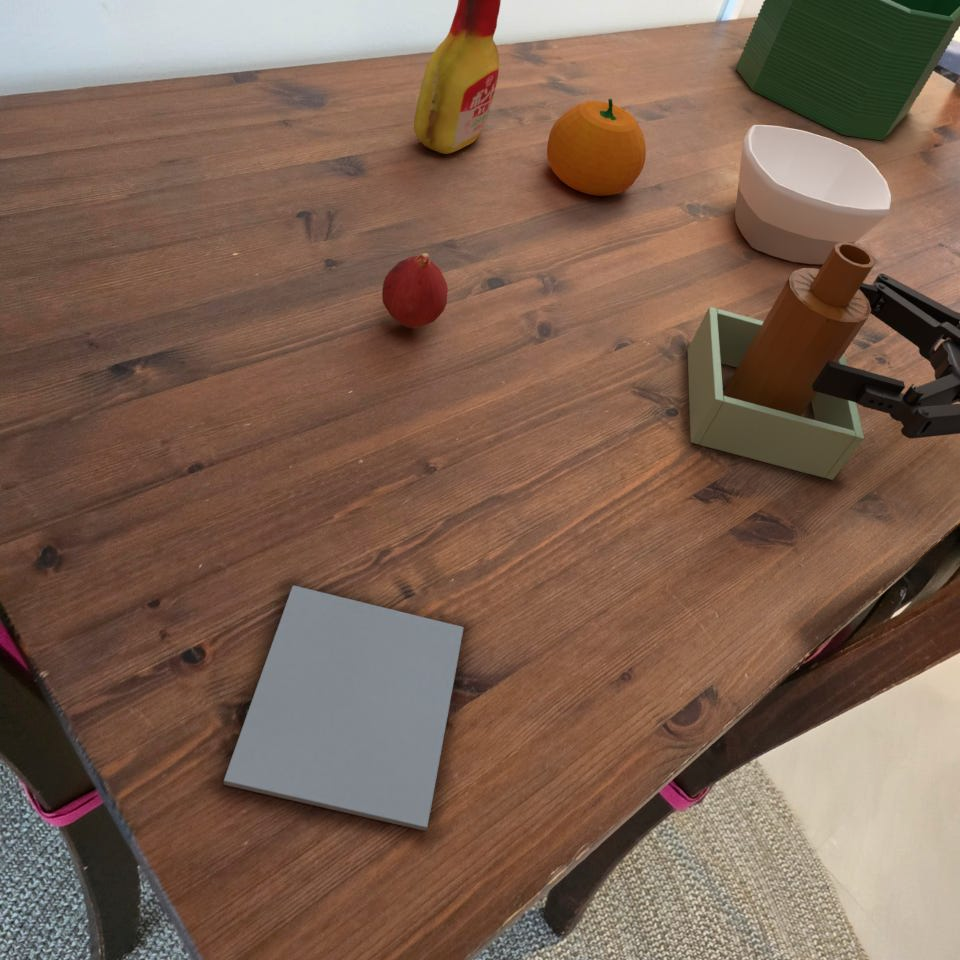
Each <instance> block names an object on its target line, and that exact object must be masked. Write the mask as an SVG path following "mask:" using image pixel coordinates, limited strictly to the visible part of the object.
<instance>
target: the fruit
mask: <svg viewBox="0 0 960 960" xmlns="http://www.w3.org/2000/svg"><path fill="white" fill-rule="evenodd" d="M607 101H608V102H606V101H600V100H587V101H585V102H581V103H579V104H576V105H574V106H572V107H571V108H569V109H567V110H566V111H565V112H564V113H563V114H562V115H560V116H559V118H557V120H556V121H555V122H554V124H553V125H552V127H551V129H550V132H549V135H548V140H547V146H546V157H547V161H548V164H549V166H550V169H551V170H552V172H553V174H554V175H555V176H556V177H557V178H558V179H559V180H560V181H561V182H562V183H563V184H565V185H567V186H568V187H570V189H573V190H576V191H577V192H580V193H583V194H587V195H591V196H600V197H604V196H614V195H617V194H620V193H622V192H624V191H627V190H628V189H629V188H630V187H631V186H633V184H634V183H635V182H636V180H637V179H638V178H639V176H640V175H641V174H642V171H643V169H644V166H645V163H646V156H647V145H646V139H645V135H644V133H643V131H642V129H641V126H640V125H639V123H638V121H637V120H636V118H635V116H633V115H632V114H631V113H630V112H629V111H628V110H625V109H624V108H622V107H620V106H618V105H616V104H614V103H613V99H612V98H608V100H607Z"/></svg>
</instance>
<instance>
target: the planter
mask: <svg viewBox="0 0 960 960" xmlns="http://www.w3.org/2000/svg"><path fill="white" fill-rule="evenodd" d="M959 29H960V0H764V1H763V2H762V5H761V8H760V9H759V12H758V14H757V17H756V20H755V21H754V24H753V25H752V28H751V31H750V32H749V35H748V36H747V39H746V43H744V47H743V48H742V49H743V50H742V52H741V54H740V56H739V59H738V61H737V63H736V66H735V70H736V71H737V72H738V74H739V76H740V77H741V78H742V79H743V81H744V82H745V83H746V85H747V86H748V88H750V90H751V91H752V92H754V93H756V94H757V95H760V96H762V97H764V98H765V99H768V100H770V101H772V102H773V103H776V104H778V105H780V106H782V107H784V108H786V109H788V110H790V111H791V112H794V113H795V114H799V115H800V116H803V117H804V118H807V119H808V120H810V121H813V122H814V123H816V124H818V125H821V126H822V127H825V128H827V129H829V130H831V131H832V132H835V133H838V134H839V135H841V136H846V137H852V138H861V139H868V140H876V141H883V140H885V138H887V136H888V135H889V134H890V133H891V132H892V131H893V130H894V128H896V126H897V125H898V124H899V123H900V122H901V121H902V120H903V119H904V118H905V116H907V115H908V113H909V112H910V111H911V109H912V107H913V106H914V104H915V102H916V101H917V98H918V97H919V96H920V95H921V93H922V91H923V89H924V88H925V86H926V85H927V82H929V79H930V78H931V75H932V74H933V72H934V71H935V67H936V66H937V65H938V64H939V63H940V61H941V59H942V57H943V56H944V54H945V53H946V50H947V49H948V47H949V46H950V44H951V42H952V41H953V39H954V38H955V34H956V32H957V31H959Z"/></svg>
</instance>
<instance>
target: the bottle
mask: <svg viewBox="0 0 960 960" xmlns="http://www.w3.org/2000/svg"><path fill="white" fill-rule="evenodd" d="M501 1H502V0H457V6H456V10H455V13H454V15H453V16H454V17H453V19H452V23H451V25H450V28H449V32H448V33H447V35H446V37H445V38H444V39H443V41H442V42H441V43H440V44H439V45H438V46H437V47H436V49H435V50H434V51H433V53H432V54H431V56H430V58H429V61H428V62H427V66H426V67H425V71H424V75H423V78H422V82H421V85H420V89H419V95H418V98H417V103H416V107H415V114H414V120H413V123H414V125H413V130H414V133H415V135H416V137H417V138H418V140H419V141H420V142H421V144H422V145H423V146H424V147H425V148H427V149H429V150H432V151H434V152H437V153H438V154H439V153H440V154H445V155H447V154H448V155H449V154H452V153H455V152H457V151H459V150H461V149H463V148H465V147H467V146H469V145H471V144H473V143H474V142H475V141H476V140H477V139H478V138H479V136H480V135H481V133H482V131H483V129H484V127H485V124H486V122H487V119H488V115H489V111H490V109H491V106H492V102H493V99H494V96H495V92H496V88H497V84H498V79H499V73H500V57H499V52H498V47H497V45H496V43H495V41H494V35H495V33H496V30H497V27H498V19H499V14H500V8H501Z"/></svg>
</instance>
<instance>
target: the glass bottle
mask: <svg viewBox="0 0 960 960" xmlns="http://www.w3.org/2000/svg"><path fill="white" fill-rule="evenodd" d="M875 265H876V260H875V257H874V256H873V254H871V253H870V251H869V250H867V249H866V248H864V247H862V246H860V245H859V244H855V243H854V244H852V243H849V242H838V243H837V244H836V245H835V246H834V248H833V249H832V251H831V252H830V254H829V256H828V257H827V259H826V261H825V262H824V264H822V266H821V267H820V268H817V267H816V268H815V267H802V268H799V269H796V270H793V271H792V272H791V273H790V276H789V277H788V278H787V281H786V282H785V284H784V285H783V287H782V289H781V291H780V292H779V295H778V296H777V298H776V300H775V301H774V303H773V305H772V307H771V308H770V310H769V312H768V313H767V315H766V317H765V319H764V320H763V321H764V322H763V324H762V326H761V327H760V329H759V331H758V333H757V334H756V336H755V338H754V339H753V341H752V343H751V345H750V346H749V348H748V350H747V352H746V353H745V355H744V357H743V359H742V360H741V362H740V364H739V366H738V367H737V368H736V369H735V370H734V372H733V375H731V378H730V380H729V381H728V383H727V384H726V386H725V387H724V389H723V397H724V396H727V397H730V398H734V399H738V400H741V401H745V402H749V403H753V404H756V405H760V406H764V407H768V408H771V409H775V410H779V411H782V412H786V413H790V414H794V415H797V416H801V417H802V416H803V414H804V412H805V411H806V410H807V408H808V406H809V405H810V404H811V401H812V399H813V398H814V396H815V395H816V393H817V392H816V391H813V388H812V384H813V383H814V381H815V380H816V378H817V377H818V375H819V374H820V372H821V371H822V369H823V368H824V366H825V365H826V363H827V362H828V361H832V362H835V363H838V361H839V360H840V358H841V357H842V355H843V354H844V353H845V352H846V351H847V350H848V349H849V347H850V345H851V343H852V342H853V341H854V339H855V338H856V336H857V335H858V333H859V332H860V330H861V329H862V327H864V324H865V323H866V322H867V320H869V319H868V318H869V317H870V314H871V313H870V312H871V307H870V304H869V301H868V299H867V298H866V297H865V295H864V294H863V293H862V292H861V290H860V289H859V288H860V286H861V285H862V283H864V281H865V280H866V279H867V277H868V275H869V274H870V273H871V271H872V270H873V268H874V267H875Z"/></svg>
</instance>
